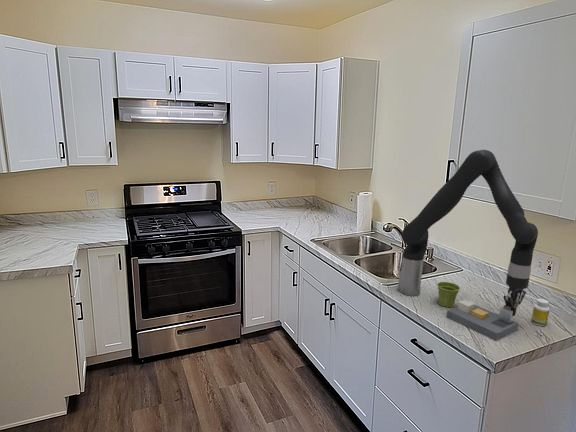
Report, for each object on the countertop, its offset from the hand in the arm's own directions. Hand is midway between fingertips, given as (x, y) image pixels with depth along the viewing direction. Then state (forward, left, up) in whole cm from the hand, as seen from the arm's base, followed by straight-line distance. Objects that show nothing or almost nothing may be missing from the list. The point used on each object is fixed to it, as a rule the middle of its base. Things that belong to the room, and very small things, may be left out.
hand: (511, 315), depth 155 cm
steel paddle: (0, -5, -1) cm, 5 cm away
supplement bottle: (+5, +12, -5) cm, 14 cm away
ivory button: (-14, -9, -3) cm, 17 cm away
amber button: (-8, -9, -4) cm, 12 cm away
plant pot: (-25, -6, -5) cm, 26 cm away
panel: (-7, -9, -4) cm, 12 cm away
